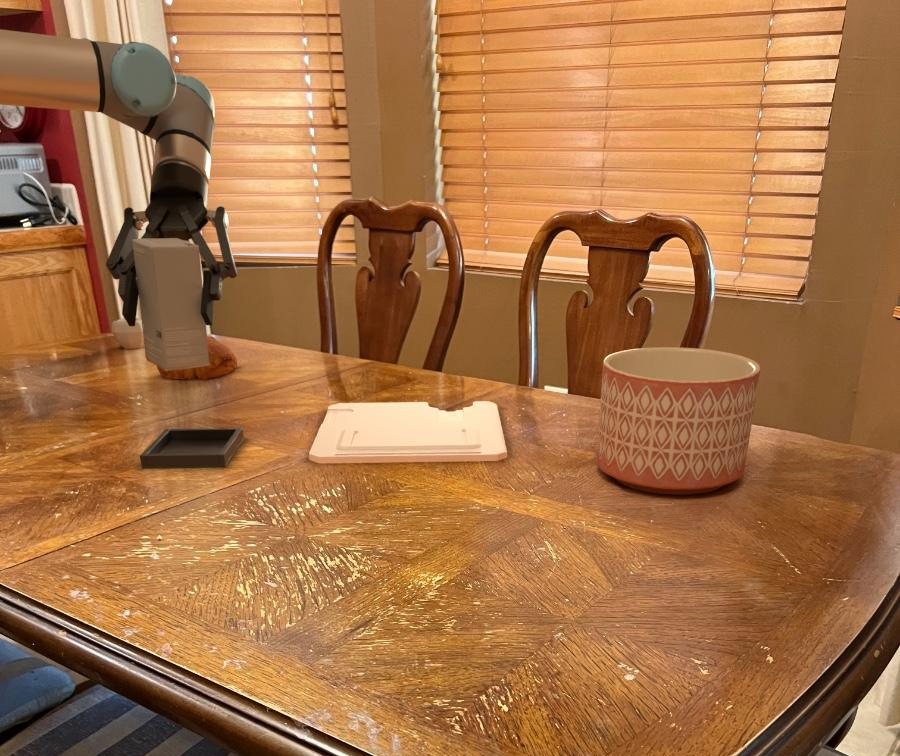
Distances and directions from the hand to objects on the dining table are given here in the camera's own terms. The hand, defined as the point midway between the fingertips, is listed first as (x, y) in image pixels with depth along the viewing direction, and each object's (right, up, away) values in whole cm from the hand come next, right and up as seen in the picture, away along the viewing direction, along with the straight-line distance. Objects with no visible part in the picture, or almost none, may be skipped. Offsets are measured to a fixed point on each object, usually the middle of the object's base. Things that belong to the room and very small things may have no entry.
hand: (167, 319), depth 113 cm
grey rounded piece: (-33, +19, +79) cm, 88 cm away
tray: (+31, -11, +20) cm, 39 cm away
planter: (+66, -20, +2) cm, 69 cm away
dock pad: (0, -16, +12) cm, 20 cm away
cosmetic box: (0, -4, +6) cm, 7 cm away
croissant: (-12, +8, +57) cm, 59 cm away
